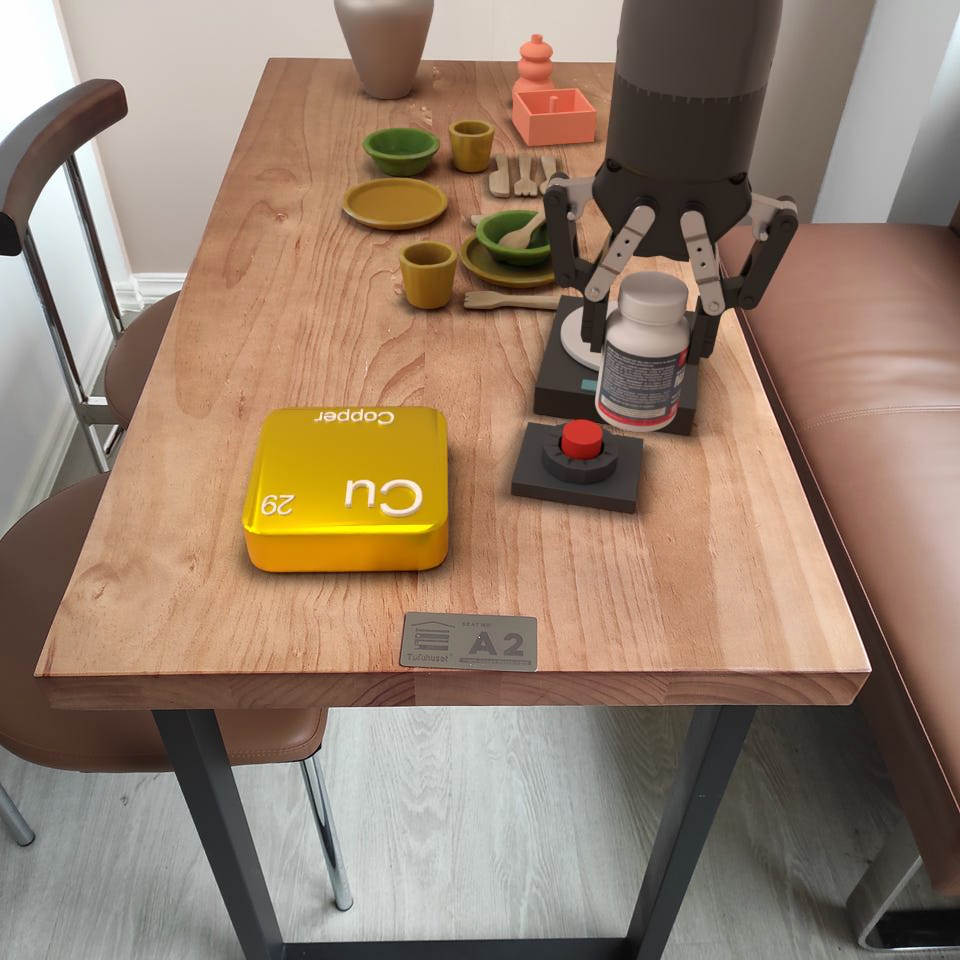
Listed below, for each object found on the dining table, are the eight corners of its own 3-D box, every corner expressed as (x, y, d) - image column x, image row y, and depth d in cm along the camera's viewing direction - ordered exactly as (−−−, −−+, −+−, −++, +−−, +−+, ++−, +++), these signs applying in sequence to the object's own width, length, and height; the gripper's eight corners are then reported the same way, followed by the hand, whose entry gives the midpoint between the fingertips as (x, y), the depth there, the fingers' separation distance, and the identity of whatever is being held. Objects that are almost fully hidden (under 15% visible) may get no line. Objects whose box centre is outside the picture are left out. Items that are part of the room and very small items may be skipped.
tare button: (602, 439, 77) (604, 422, 76) (598, 463, 75) (600, 446, 73) (564, 433, 77) (566, 416, 76) (558, 457, 75) (560, 440, 74)
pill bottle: (682, 435, 58) (707, 312, 52) (598, 434, 58) (614, 311, 52) (669, 385, 62) (692, 265, 56) (590, 384, 62) (605, 264, 56)
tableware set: (585, 320, 95) (591, 265, 91) (314, 314, 95) (308, 259, 91) (562, 155, 126) (566, 108, 122) (358, 151, 126) (354, 103, 121)
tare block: (641, 450, 80) (646, 423, 78) (633, 514, 74) (638, 486, 72) (527, 434, 81) (529, 406, 79) (510, 494, 76) (512, 466, 74)
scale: (696, 337, 93) (703, 305, 91) (690, 436, 82) (697, 401, 79) (558, 319, 95) (561, 287, 93) (533, 413, 84) (535, 379, 81)
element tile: (447, 443, 80) (446, 399, 77) (448, 572, 69) (448, 527, 66) (272, 444, 80) (264, 400, 76) (245, 575, 68) (235, 529, 65)
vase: (424, 113, 136) (420, -83, 120) (329, 104, 138) (312, -89, 121) (443, 79, 147) (442, -105, 130) (355, 72, 149) (343, -111, 132)
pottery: (593, 141, 130) (601, 68, 123) (528, 146, 128) (532, 72, 121) (557, 95, 143) (563, 27, 136) (498, 99, 141) (500, 30, 134)
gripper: (536, 77, 44) (519, 372, 55) (850, 104, 42) (766, 404, 53) (557, 29, 49) (538, 306, 61) (836, 52, 47) (762, 333, 59)
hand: (645, 351), depth 57 cm, fingers closed on pill bottle, 5 cm apart
